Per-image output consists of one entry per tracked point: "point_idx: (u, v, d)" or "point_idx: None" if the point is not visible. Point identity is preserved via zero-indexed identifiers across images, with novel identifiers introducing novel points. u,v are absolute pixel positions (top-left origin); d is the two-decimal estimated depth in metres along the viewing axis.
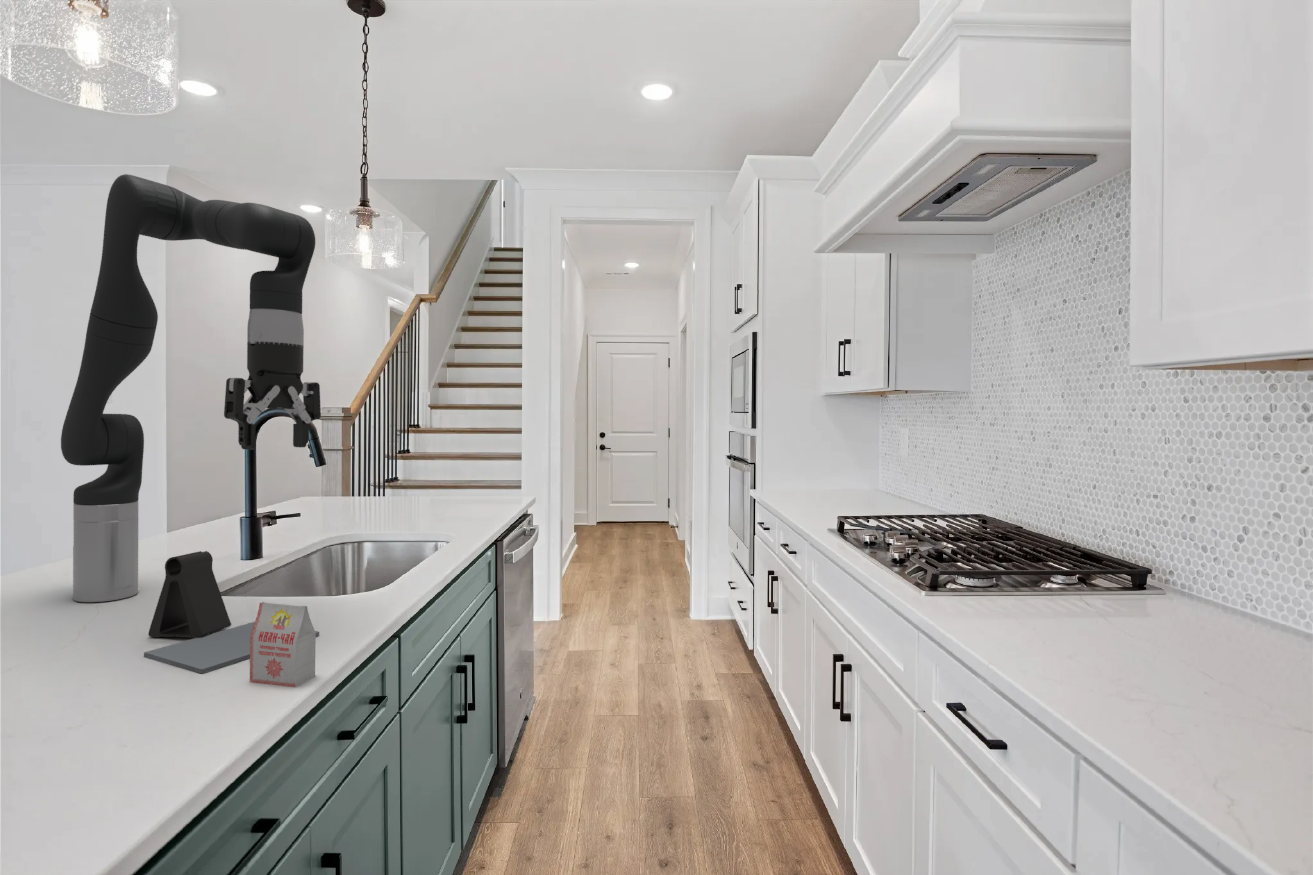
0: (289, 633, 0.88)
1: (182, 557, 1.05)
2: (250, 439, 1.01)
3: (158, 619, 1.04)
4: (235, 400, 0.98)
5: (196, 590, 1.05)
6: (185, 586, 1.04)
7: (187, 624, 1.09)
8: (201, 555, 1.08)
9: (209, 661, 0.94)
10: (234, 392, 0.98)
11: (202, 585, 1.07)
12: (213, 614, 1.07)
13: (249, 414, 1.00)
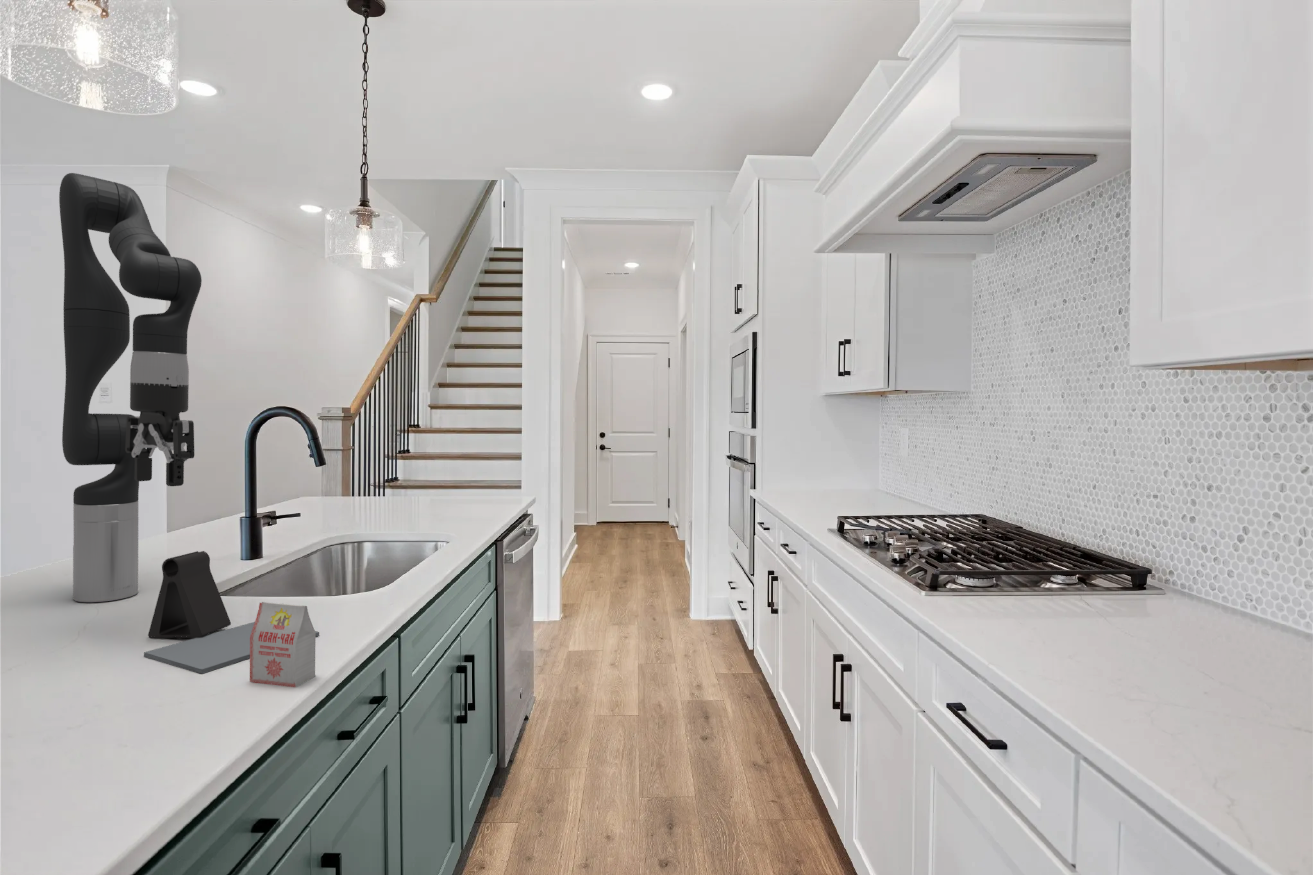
0: (288, 633, 0.88)
1: (179, 558, 1.04)
2: None
3: (158, 621, 1.04)
4: (193, 441, 1.08)
5: (194, 591, 1.05)
6: (183, 587, 1.04)
7: (187, 624, 1.09)
8: (198, 555, 1.08)
9: (209, 661, 0.94)
10: (191, 434, 1.07)
11: (200, 585, 1.06)
12: (212, 614, 1.07)
13: None
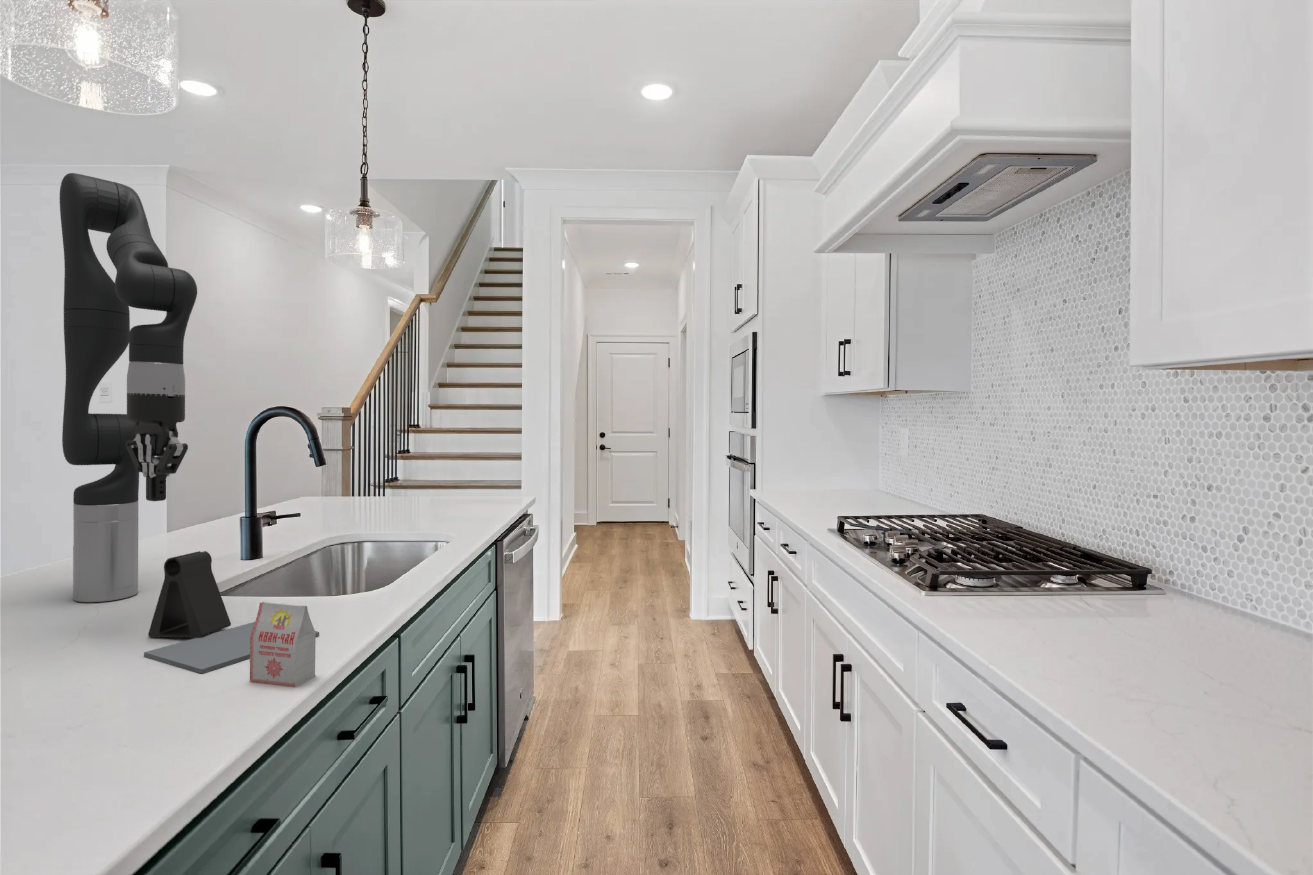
0: (289, 633, 0.89)
1: (181, 557, 1.04)
2: None
3: (158, 620, 1.04)
4: (180, 462, 1.09)
5: (195, 591, 1.05)
6: (184, 586, 1.04)
7: (187, 624, 1.09)
8: (200, 555, 1.08)
9: (209, 661, 0.94)
10: (181, 457, 1.08)
11: (201, 585, 1.07)
12: (213, 614, 1.07)
13: None
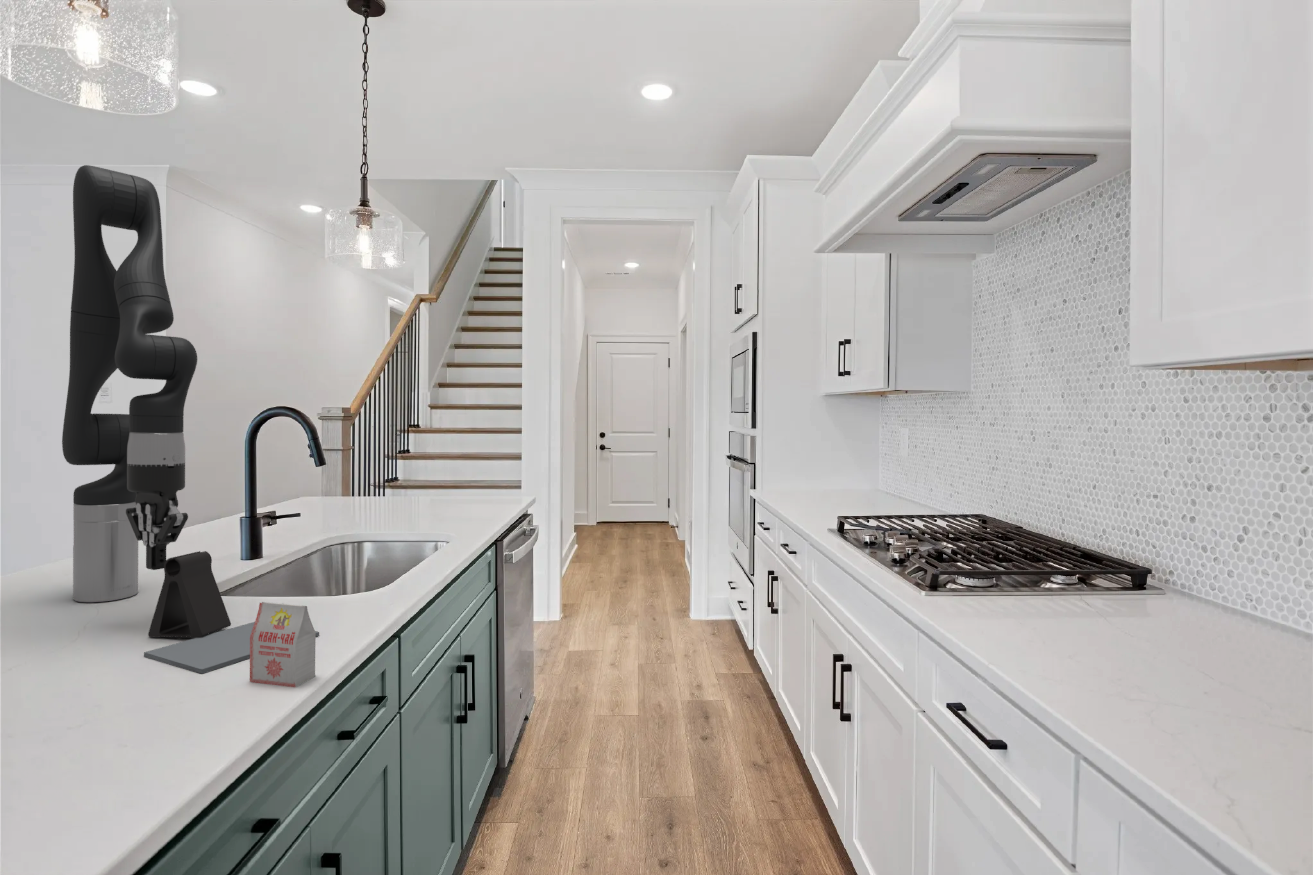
0: (289, 633, 0.88)
1: (181, 557, 1.04)
2: None
3: (158, 620, 1.04)
4: (180, 531, 1.09)
5: (195, 591, 1.05)
6: (184, 586, 1.04)
7: (187, 624, 1.09)
8: (200, 555, 1.08)
9: (209, 661, 0.94)
10: (181, 526, 1.09)
11: (201, 585, 1.07)
12: (213, 614, 1.07)
13: None
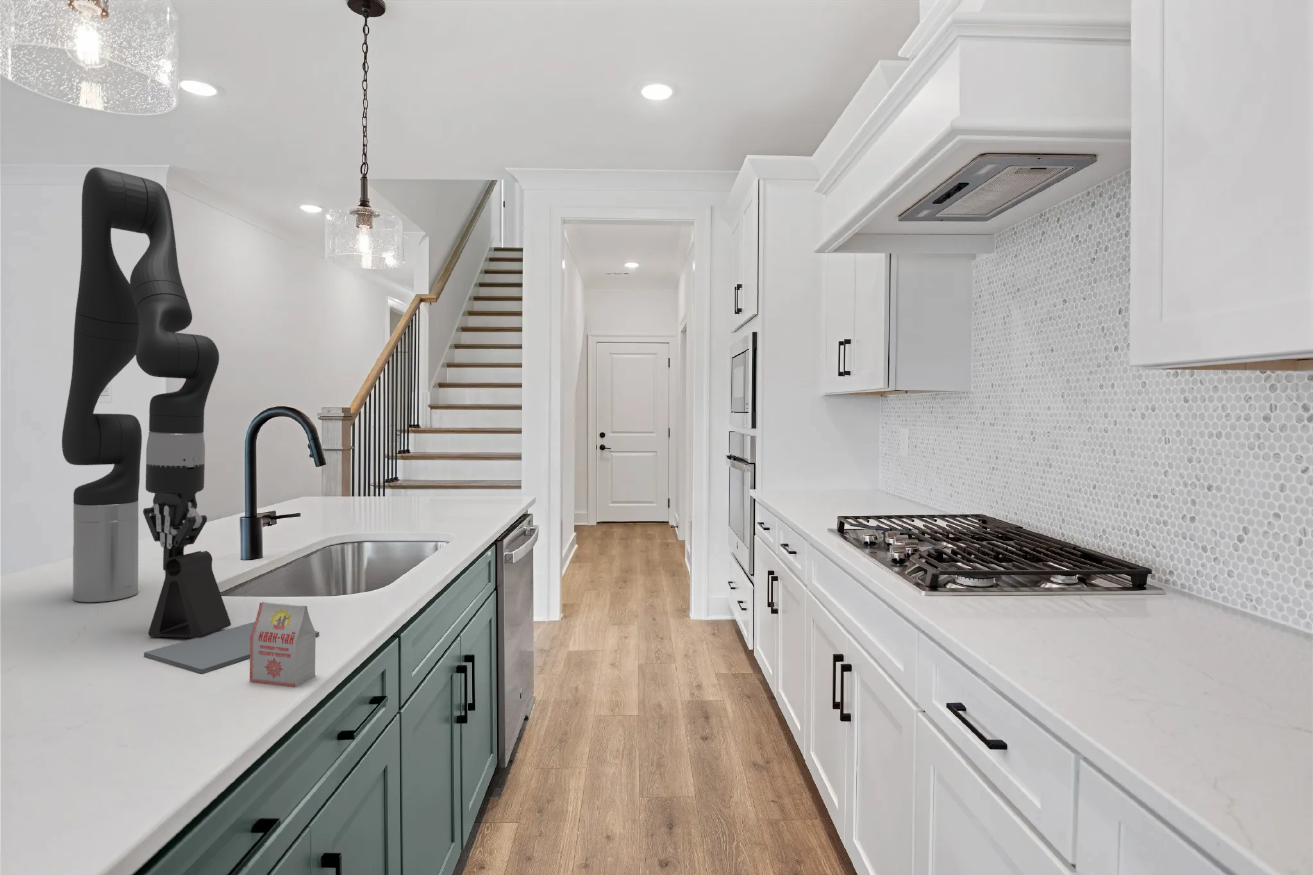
0: (289, 633, 0.88)
1: (182, 557, 1.04)
2: None
3: (158, 619, 1.04)
4: (198, 534, 1.07)
5: (196, 591, 1.05)
6: (185, 586, 1.04)
7: (187, 623, 1.09)
8: (201, 555, 1.08)
9: (209, 661, 0.94)
10: (199, 529, 1.07)
11: (202, 585, 1.07)
12: (213, 614, 1.07)
13: None
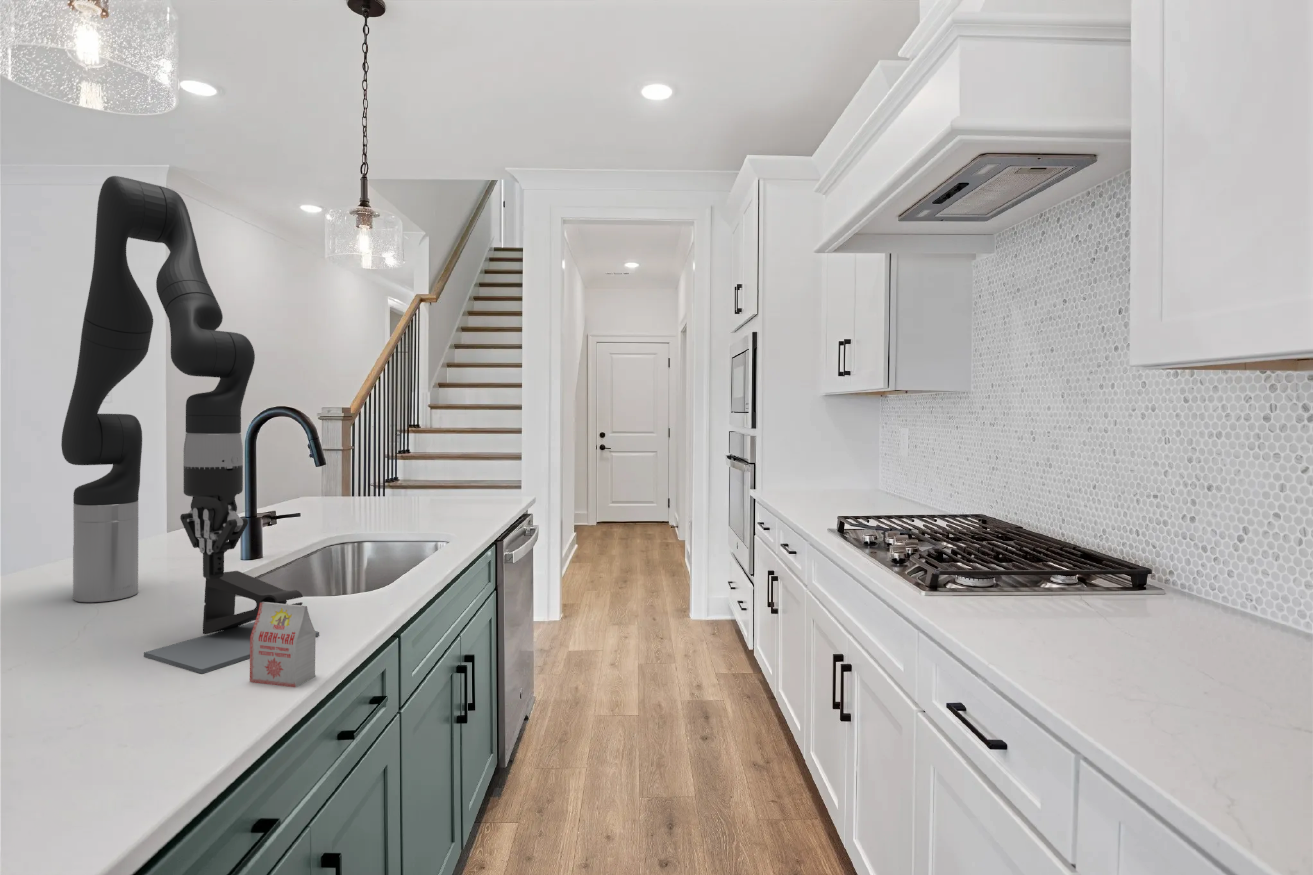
0: (289, 633, 0.88)
1: None
2: None
3: (220, 586, 1.04)
4: (239, 538, 1.03)
5: (251, 618, 1.04)
6: (250, 616, 1.03)
7: None
8: None
9: (209, 661, 0.94)
10: (240, 532, 1.02)
11: None
12: (234, 625, 1.06)
13: None
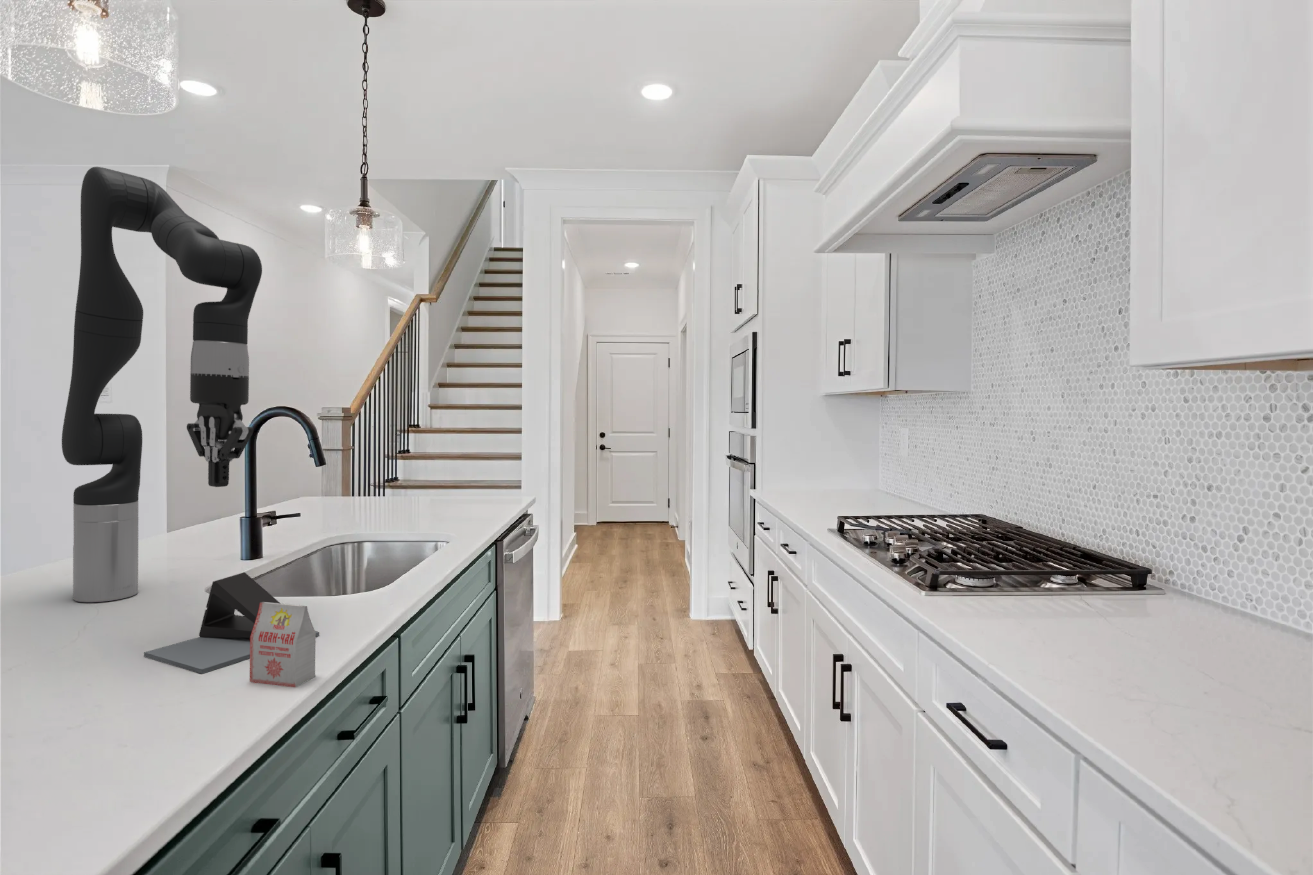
0: (289, 633, 0.88)
1: None
2: None
3: (224, 597, 1.03)
4: (244, 447, 1.04)
5: None
6: (246, 636, 1.02)
7: None
8: None
9: (209, 661, 0.94)
10: (245, 441, 1.04)
11: None
12: None
13: None
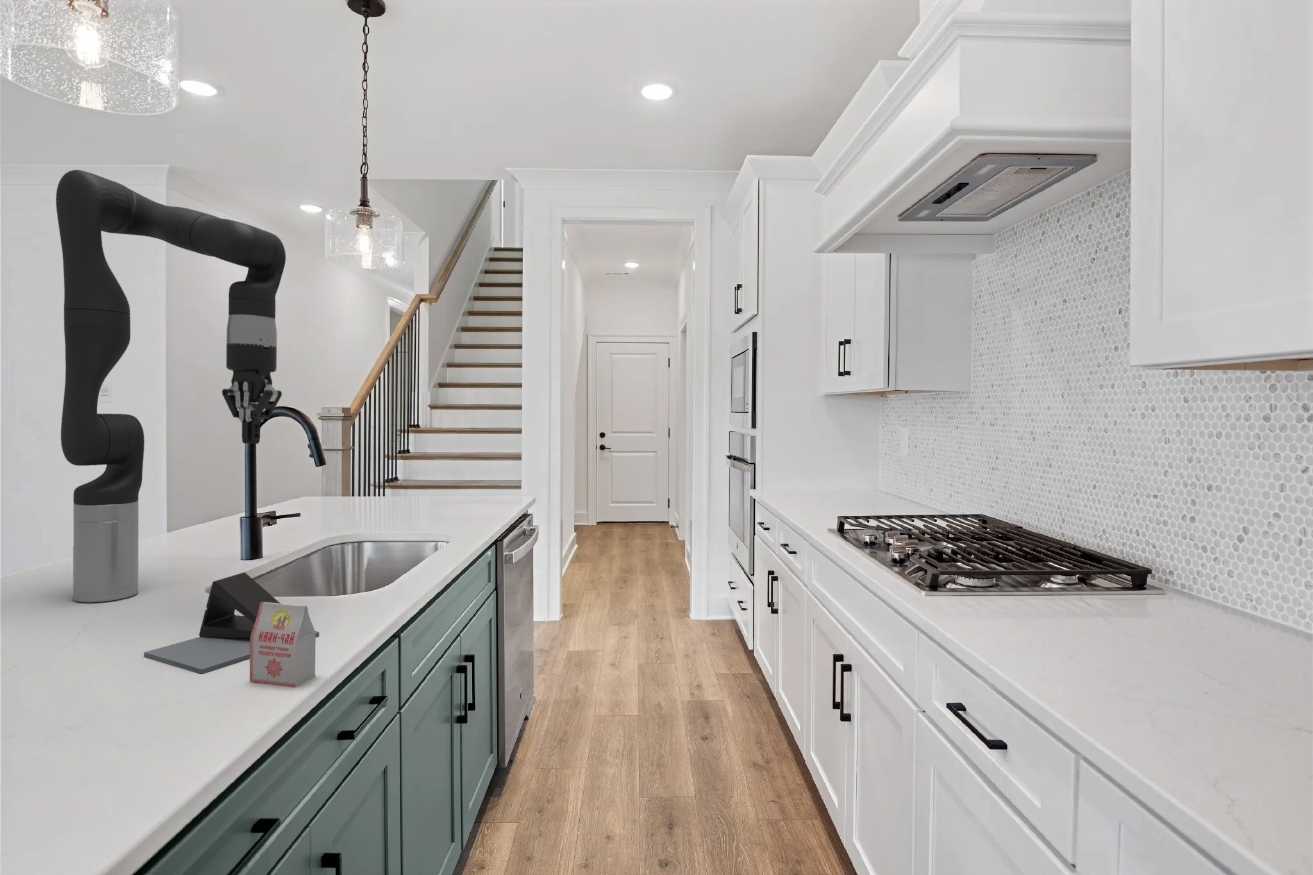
0: (288, 633, 0.88)
1: None
2: None
3: (224, 597, 1.03)
4: (273, 408, 1.19)
5: None
6: (246, 636, 1.02)
7: None
8: None
9: (209, 661, 0.94)
10: (275, 403, 1.18)
11: None
12: None
13: None
